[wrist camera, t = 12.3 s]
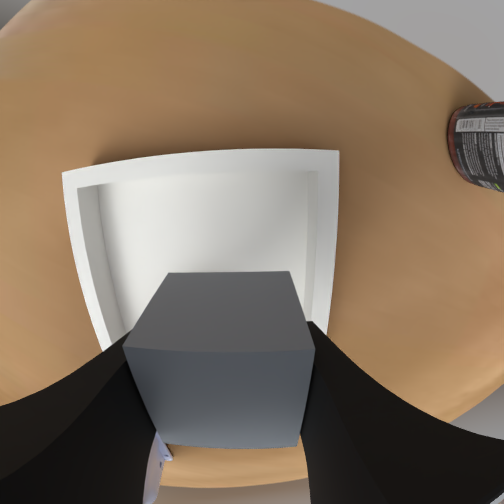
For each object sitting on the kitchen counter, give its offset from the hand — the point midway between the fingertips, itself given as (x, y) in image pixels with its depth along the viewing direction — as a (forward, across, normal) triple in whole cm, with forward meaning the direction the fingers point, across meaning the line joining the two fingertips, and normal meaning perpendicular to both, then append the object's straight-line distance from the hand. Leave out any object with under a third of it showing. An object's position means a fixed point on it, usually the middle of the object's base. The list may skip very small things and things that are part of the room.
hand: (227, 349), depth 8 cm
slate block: (+1, 0, 0) cm, 1 cm away
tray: (+8, +2, +1) cm, 9 cm away
